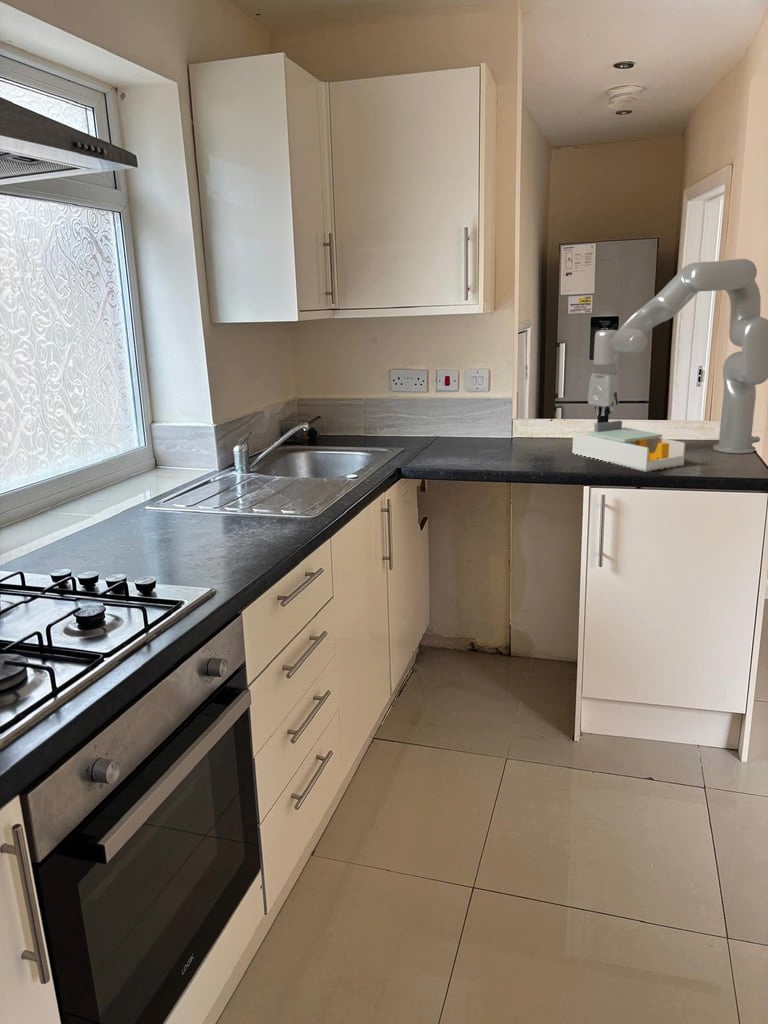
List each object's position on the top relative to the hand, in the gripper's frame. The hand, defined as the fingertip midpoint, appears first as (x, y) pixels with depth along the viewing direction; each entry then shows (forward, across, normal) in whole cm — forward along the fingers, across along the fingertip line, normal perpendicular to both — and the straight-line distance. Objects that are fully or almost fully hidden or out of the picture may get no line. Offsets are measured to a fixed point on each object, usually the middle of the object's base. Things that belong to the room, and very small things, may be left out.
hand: (602, 427), depth 252 cm
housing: (+9, +11, 0) cm, 14 cm away
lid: (+1, +10, 0) cm, 10 cm away
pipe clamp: (+8, +20, +1) cm, 21 cm away
